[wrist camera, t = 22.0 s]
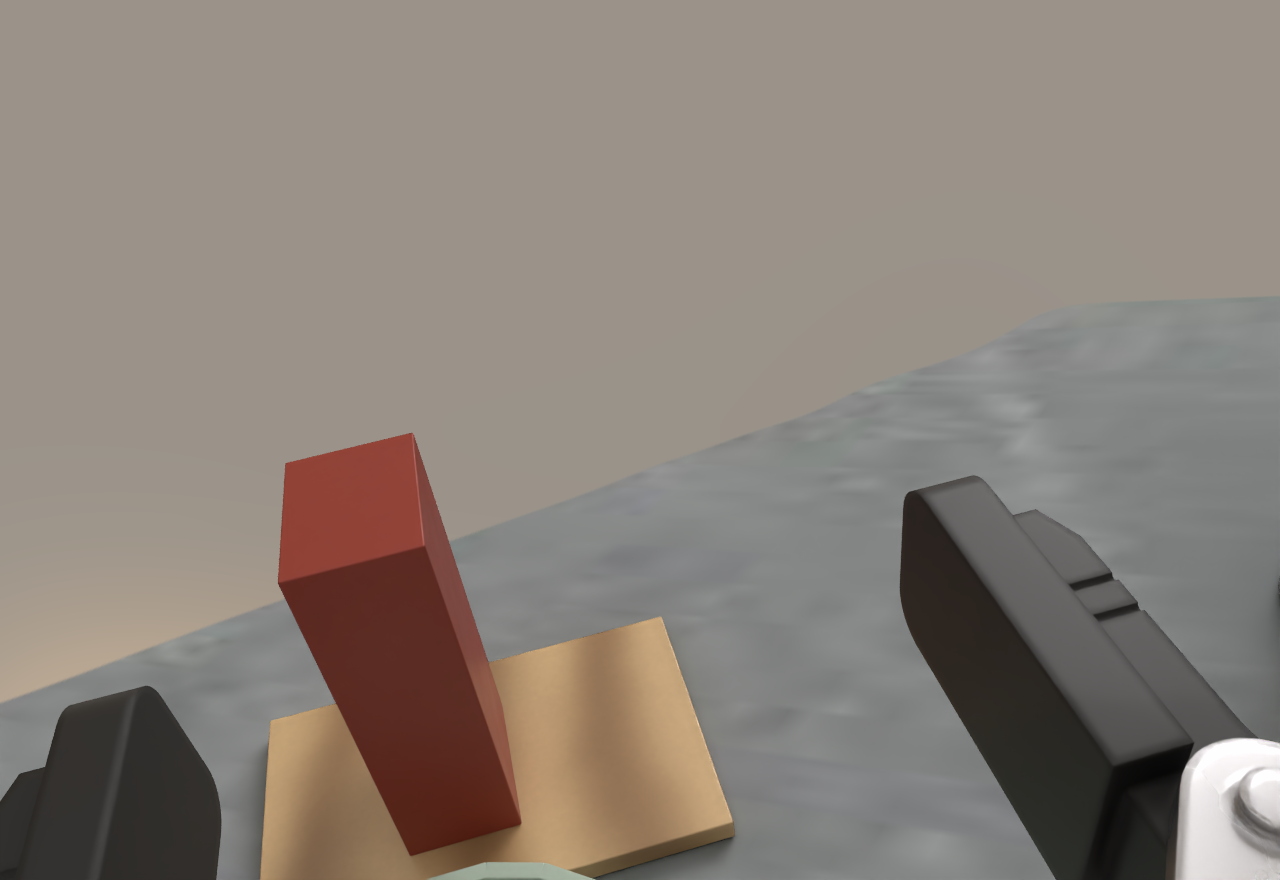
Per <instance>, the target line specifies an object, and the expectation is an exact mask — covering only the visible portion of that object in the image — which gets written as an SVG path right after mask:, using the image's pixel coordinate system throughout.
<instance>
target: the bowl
mask: <svg viewBox="0 0 1280 880" xmlns="http://www.w3.org/2000/svg"><path fill="white" fill-rule="evenodd" d="M427 880H595V879H592V878H589V877H586V876H583V875H580V874H577V873H574V872H572V871H569V870H566V869H563V868H560V867H557V866H554V865H551V864H548V863H534V862H486V863H485V862H484V863H481V864H477V865H474V866H470V867H467V868H463V869H460V870H456V871H453V872H449V873H446V874H443V875H439V876H436V877H432V878H429V879H427Z"/></svg>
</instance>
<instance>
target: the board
mask: <svg viewBox="0 0 1280 880" xmlns="http://www.w3.org/2000/svg"><path fill="white" fill-rule="evenodd" d="M489 666H490V669H491V672H492V675H493V678H494V681H495V684H496V687H497V690H498V693H499V696H500V699H501V703H502V706H503V712H504V718H505V724H506V730H507V736H508V742H509V748H510V754H511V760H512V767H513V773H514V779H515V785H516V791H517V797H518V803H519V809H520V815H521V821H522V823H521V824H520V825H517V826H514V827H510V828H507V829H503V830H500V831H496V832H493V833H489V834H486V835H482V836H479V837H475V838H472V839H469V840H465V841H462V842H458V843H455V844H451V845H448V846H444V847H441V848H437V849H434V850H430V851H427V852H423V853H420V854H417V855H413V856H410V855H409V853H408V851H407V849H406V847H405V845H404V842H403V840H402V838H401V836H400V834H399V832H398V830H397V828H396V826H395V824H394V822H393V820H392V818H391V816H390V814H389V812H388V809H387V807H386V805H385V803H384V801H383V799H382V797H381V795H380V793H379V791H378V789H377V787H376V785H375V783H374V781H373V779H372V776H371V774H370V772H369V770H368V768H367V766H366V764H365V762H364V760H363V758H362V756H361V754H360V752H359V750H358V748H357V746H356V743H355V741H354V739H353V737H352V735H351V733H350V731H349V729H348V727H347V725H346V723H345V721H344V719H343V717H342V715H341V712H340V710H339V708H338V706H337V704H332V705H328V706H325V707H321V708H317V709H314V710H310V711H306V712H302V713H299V714H295V715H291V716H287V717H284V718H280V719H276V720H272V721H270V732H269V747H268V763H267V778H266V794H265V809H264V825H263V840H262V855H261V871H260V880H427V879H429V878H432V877H436V876H439V875H443V874H446V873H449V872H453V871H456V870H460V869H463V868H467V867H470V866H474V865H477V864H481V863H484V862H485V863H486V862H534V863H548V864H551V865H554V866H557V867H560V868H563V869H566V870H569V871H572V872H574V873H577V874H580V875H583V876H586V877H589V878H594V877H597V876H601V875H604V874H607V873H611V872H614V871H618V870H621V869H624V868H628V867H631V866H635V865H638V864H641V863H645V862H648V861H652V860H655V859H658V858H662V857H665V856H669V855H672V854H675V853H679V852H682V851H685V850H689V849H692V848H696V847H699V846H702V845H706V844H709V843H713V842H716V841H719V840H723V839H726V838H730V837H733V836H735V831H734V823H733V819H732V816H731V813H730V811H729V808H728V805H727V802H726V799H725V796H724V793H723V791H722V788H721V785H720V782H719V779H718V776H717V774H716V771H715V768H714V765H713V762H712V759H711V756H710V754H709V751H708V748H707V745H706V742H705V739H704V736H703V734H702V731H701V728H700V725H699V722H698V719H697V716H696V714H695V711H694V708H693V705H692V702H691V699H690V696H689V694H688V691H687V688H686V685H685V682H684V679H683V677H682V674H681V671H680V668H679V665H678V662H677V659H676V657H675V654H674V651H673V648H672V645H671V642H670V639H669V637H668V634H667V631H666V628H665V625H664V622H663V619H662V617H657V618H654V619H650V620H646V621H642V622H639V623H635V624H631V625H628V626H624V627H620V628H616V629H613V630H609V631H605V632H601V633H598V634H594V635H590V636H586V637H583V638H579V639H575V640H571V641H568V642H564V643H560V644H556V645H553V646H549V647H545V648H542V649H538V650H534V651H530V652H527V653H523V654H519V655H515V656H512V657H508V658H504V659H500V660H497V661H493V662H489Z"/></svg>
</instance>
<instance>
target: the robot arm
mask: <svg viewBox="0 0 1280 880" xmlns="http://www.w3.org/2000/svg"><path fill="white" fill-rule="evenodd" d="M1279 595H1280V578H1279ZM900 597H901V603H902V608H903V612H904V616H905V619H906V622H907V625H908V628H909V630H910V633H911V635H912V637H913V639H914V641H915V643H916V645H917V647H918V648H919V650H920V652H921V653H922V655H923V657H924V658H925V660H926V662H927V663H928V665H929V667H930V668H931V670H932V672H933V673H934V675H935V677H936V678H937V680H938V682H939V684H940V685H941V687H942V689H943V690H944V692H945V694H946V695H947V697H948V699H949V700H950V702H951V704H952V705H953V707H954V709H955V710H956V712H957V714H958V715H959V717H960V719H961V720H962V722H963V724H964V726H965V727H966V729H967V731H968V732H969V734H970V736H971V737H972V739H973V741H974V742H975V744H976V746H977V747H978V749H979V751H980V752H981V754H982V756H983V757H984V759H985V761H986V763H987V764H988V766H989V768H990V769H991V771H992V773H993V774H994V776H995V778H996V779H997V781H998V783H999V784H1000V786H1001V788H1002V789H1003V791H1004V793H1005V794H1006V796H1007V798H1008V799H1009V801H1010V803H1011V805H1012V806H1013V808H1014V810H1015V811H1016V813H1017V815H1018V816H1019V818H1020V820H1021V821H1022V823H1023V825H1024V826H1025V828H1026V830H1027V831H1028V833H1029V835H1030V836H1031V838H1032V840H1033V842H1034V843H1035V845H1036V847H1037V848H1038V850H1039V852H1040V853H1041V855H1042V857H1043V858H1044V860H1045V862H1046V863H1047V865H1048V867H1049V868H1050V870H1051V872H1052V873H1053V875H1054V877H1055V878H1056V880H1280V743H1276V742H1273V741H1267V740H1262V739H1259V738H1258V737H1256V736H1255V735H1254V734H1253V733H1252V732H1250V730H1249V729H1248V728H1247V727H1246V726H1245V725H1244V724H1243V723H1242V722H1241V721H1240V720H1239V719H1238V718H1237V717H1236V716H1235V714H1234V713H1233V712H1232V711H1231V710H1230V709H1229V707H1228V706H1227V705H1226V704H1225V703H1224V702H1223V700H1222V699H1221V698H1220V697H1219V696H1218V695H1217V693H1216V692H1215V691H1214V690H1213V689H1212V688H1211V687H1210V685H1209V684H1208V683H1207V682H1206V681H1205V680H1204V678H1203V677H1202V676H1201V675H1200V674H1199V673H1198V671H1197V670H1196V669H1195V668H1194V667H1193V666H1192V665H1191V663H1190V662H1189V661H1188V660H1187V659H1186V658H1185V656H1184V655H1183V654H1182V653H1181V652H1180V651H1179V649H1178V648H1177V647H1176V646H1175V645H1174V644H1173V642H1172V641H1171V640H1170V639H1169V638H1168V637H1167V636H1166V634H1165V633H1164V632H1163V631H1162V630H1161V629H1160V627H1159V626H1158V625H1157V624H1156V623H1155V622H1154V620H1153V619H1152V618H1151V617H1150V616H1149V615H1148V613H1147V612H1146V611H1145V610H1143V611H1141V610H1140V609H1139V607H1138V602H1137V601H1136V600H1135V598H1134V597H1133V596H1132V595H1131V594H1130V593H1129V591H1128V590H1127V589H1126V588H1125V587H1124V586H1123V585H1122V583H1121V582H1120V581H1119V580H1114V578H1113V576H1112V572H1111V571H1110V569H1109V568H1108V567H1107V566H1106V565H1105V564H1104V562H1103V561H1102V560H1101V559H1100V558H1099V557H1098V556H1097V554H1096V553H1095V552H1094V551H1093V550H1092V549H1091V547H1090V546H1089V545H1088V544H1087V543H1086V542H1085V540H1084V539H1083V538H1082V537H1081V536H1080V535H1078V534H1076V533H1075V532H1073V531H1071V530H1070V529H1068V528H1066V527H1065V526H1063V525H1061V524H1060V523H1058V522H1056V521H1054V520H1053V519H1051V518H1049V517H1048V516H1046V515H1044V514H1043V513H1041V512H1039V511H1038V510H1036V509H1035V510H1031V511H1027V512H1024V513H1020V514H1016V515H1012V514H1011V513H1010V511H1009V510H1008V509H1007V508H1006V506H1005V505H1004V504H1003V503H1002V501H1001V500H1000V499H999V498H998V496H997V495H996V494H995V493H994V491H993V490H992V489H991V488H990V486H989V485H988V484H987V483H986V482H985V481H984V480H983V479H981V478H980V477H978V476H969V477H965V478H961V479H957V480H953V481H949V482H946V483H942V484H938V485H934V486H930V487H926V488H922V489H918V490H915V491H911V492H909V493H907V495H906V497H905V500H904V506H903V526H902V548H901V571H900ZM220 838H221V809H220V802H219V797H218V792H217V789H216V785H215V782H214V779H213V777H212V775H211V773H210V771H209V769H208V767H207V766H206V764H205V763H204V761H203V760H202V758H201V757H200V755H199V754H198V752H197V751H196V749H195V748H194V746H193V745H192V743H191V742H190V740H189V738H188V737H187V735H186V734H185V732H184V731H183V729H182V728H181V726H180V725H179V723H178V722H177V720H176V719H175V717H174V716H173V714H172V713H171V711H170V710H169V708H168V706H167V705H166V703H165V702H164V700H163V699H162V697H161V696H160V695H159V693H158V692H157V691H156V690H155V689H153V688H152V687H150V686H143V687H139V688H136V689H132V690H128V691H124V692H120V693H116V694H112V695H108V696H104V697H101V698H97V699H93V700H89V701H85V702H81V703H77V704H73V705H70V706H68V707H67V708H65V710H64V711H63V712H62V714H61V715H60V717H59V720H58V723H57V726H56V729H55V733H54V737H53V740H52V744H51V747H50V751H49V755H48V758H47V762H46V766H45V767H43V768H40V769H36V770H32V771H28V772H24V773H21V774H19V775H18V777H17V778H16V780H15V781H14V783H13V784H12V785H11V787H10V788H9V790H8V791H7V793H6V794H5V795H4V797H3V798H2V800H1V801H0V880H216V875H217V866H218V856H219V847H220Z"/></svg>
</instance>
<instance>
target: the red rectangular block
mask: <svg viewBox="0 0 1280 880" xmlns="http://www.w3.org/2000/svg"><path fill="white" fill-rule="evenodd" d="M278 584H279V587H280V588H281V591H282V593H283V595H284V597H285V599H286V601H287V603H288V605H289V607H290V609H291V611H292V613H293V616H294V618H295V620H296V622H297V624H298V626H299V628H300V630H301V632H302V634H303V636H304V638H305V640H306V642H307V644H308V646H309V649H310V651H311V653H312V655H313V657H314V659H315V661H316V663H317V665H318V667H319V669H320V671H321V673H322V675H323V677H324V679H325V682H326V684H327V686H328V688H329V690H330V692H331V694H332V696H333V698H334V700H335V702H336V704H337V706H338V708H339V710H340V712H341V715H342V717H343V719H344V721H345V723H346V725H347V727H348V729H349V731H350V733H351V735H352V737H353V739H354V741H355V743H356V746H357V748H358V750H359V752H360V754H361V756H362V758H363V760H364V762H365V764H366V766H367V768H368V770H369V772H370V774H371V776H372V779H373V781H374V783H375V785H376V787H377V789H378V791H379V793H380V795H381V797H382V799H383V801H384V803H385V805H386V807H387V809H388V812H389V814H390V816H391V818H392V820H393V822H394V824H395V826H396V828H397V830H398V832H399V834H400V836H401V838H402V840H403V842H404V845H405V847H406V849H407V851H408V853H409V855H410V856H413V855H417V854H420V853H423V852H427V851H430V850H434V849H437V848H441V847H444V846H448V845H451V844H455V843H458V842H462V841H465V840H469V839H472V838H475V837H479V836H482V835H486V834H489V833H493V832H496V831H500V830H503V829H507V828H510V827H514V826H517V825H520V824H521V823H522V821H521V815H520V809H519V803H518V797H517V791H516V785H515V779H514V773H513V767H512V760H511V754H510V748H509V742H508V736H507V730H506V724H505V718H504V712H503V706H502V703H501V699H500V696H499V693H498V690H497V687H496V684H495V681H494V678H493V675H492V672H491V669H490V666H489V663H488V660H487V657H486V654H485V651H484V648H483V645H482V642H481V638H480V635H479V632H478V629H477V626H476V623H475V620H474V617H473V614H472V611H471V608H470V605H469V602H468V599H467V596H466V593H465V590H464V587H463V584H462V581H461V577H460V574H459V571H458V568H457V565H456V562H455V559H454V556H453V553H452V550H451V547H450V544H449V541H448V538H447V535H446V532H445V529H444V526H443V523H442V520H441V517H440V514H439V510H438V508H437V505H436V501H435V499H434V495H433V492H432V489H431V486H430V484H429V480H428V477H427V474H426V471H425V468H424V465H423V462H422V459H421V456H420V452H419V450H418V446H417V443H416V440H415V437H414V435H413V433H409V434H405V435H400V436H396V437H392V438H388V439H384V440H380V441H376V442H371V443H367V444H363V445H359V446H355V447H351V448H347V449H343V450H339V451H334V452H330V453H326V454H322V455H318V456H313V457H309V458H306V459H301V460H297V461H293V462H289V463H286V465H285V479H284V495H283V511H282V526H281V542H280V558H279V574H278Z"/></svg>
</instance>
